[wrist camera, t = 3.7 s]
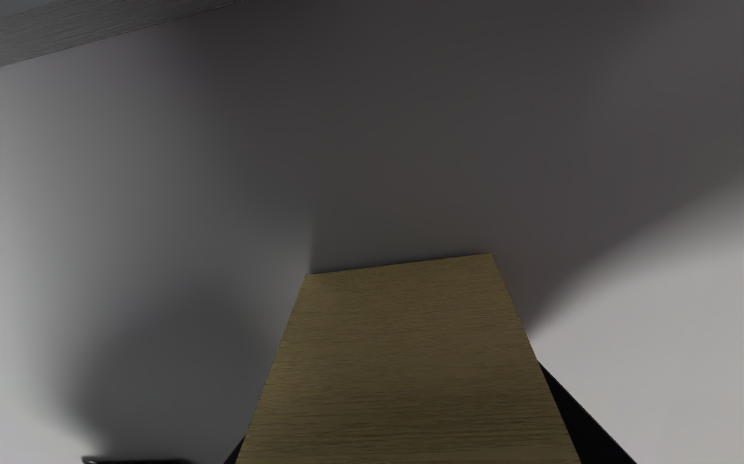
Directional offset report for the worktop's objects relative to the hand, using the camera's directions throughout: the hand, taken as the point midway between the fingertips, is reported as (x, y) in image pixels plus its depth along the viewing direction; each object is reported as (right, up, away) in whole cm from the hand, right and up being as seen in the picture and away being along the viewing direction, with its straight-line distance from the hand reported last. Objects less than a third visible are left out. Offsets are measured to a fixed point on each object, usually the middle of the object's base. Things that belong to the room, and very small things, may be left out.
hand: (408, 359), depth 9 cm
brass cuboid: (0, +1, +1) cm, 1 cm away
